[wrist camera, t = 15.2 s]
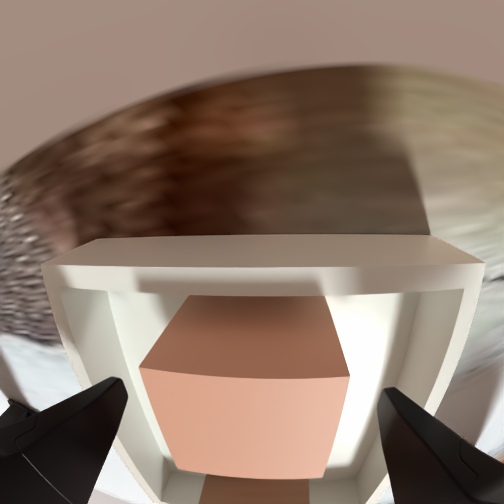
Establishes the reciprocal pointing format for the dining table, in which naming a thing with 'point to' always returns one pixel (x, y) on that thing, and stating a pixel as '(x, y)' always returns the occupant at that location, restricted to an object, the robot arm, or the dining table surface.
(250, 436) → the terracotta block
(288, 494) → the walnut block
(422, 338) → the tray
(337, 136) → the dining table surface
